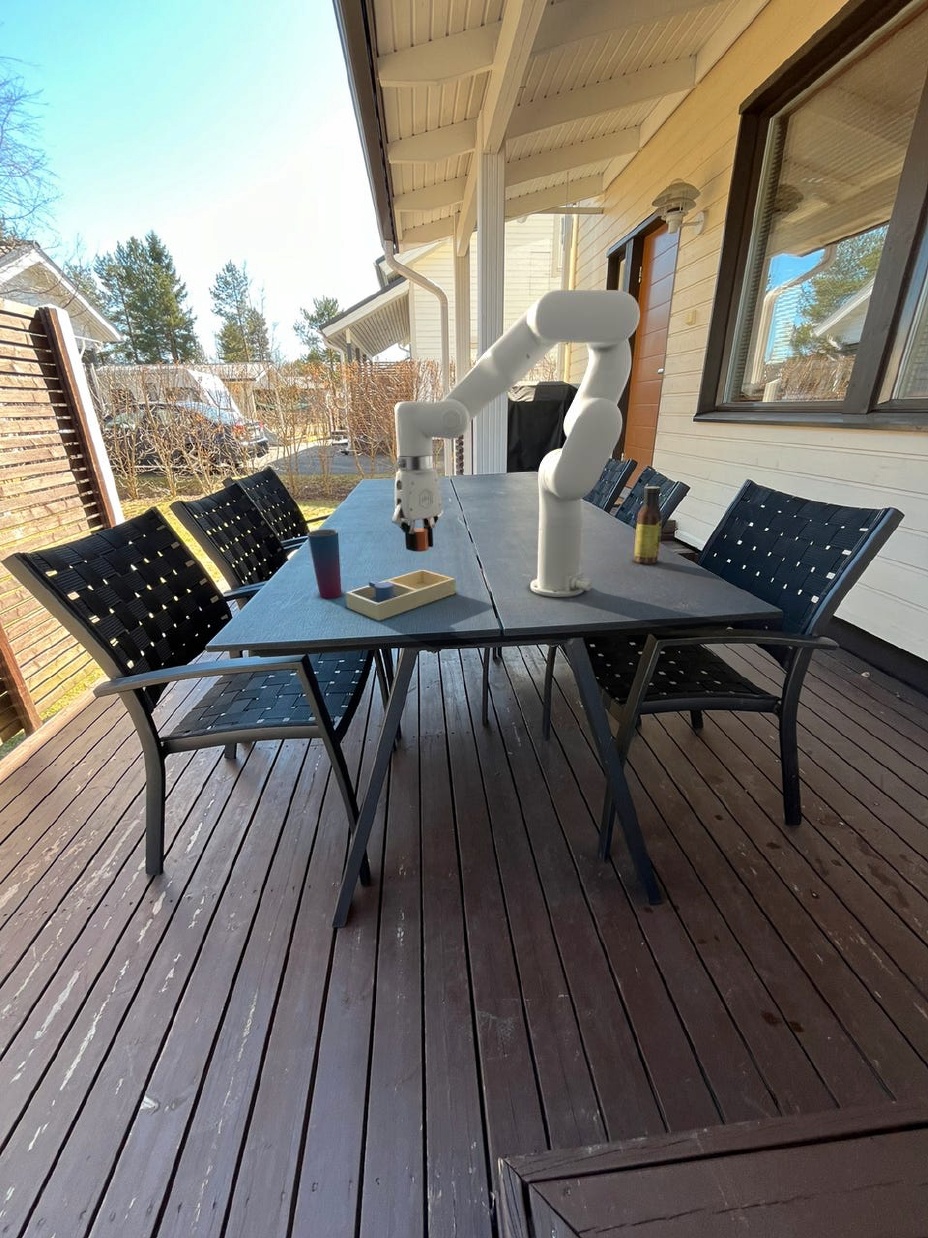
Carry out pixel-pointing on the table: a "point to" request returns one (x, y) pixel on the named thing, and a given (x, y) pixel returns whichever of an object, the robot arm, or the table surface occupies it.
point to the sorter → (402, 594)
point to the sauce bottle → (648, 528)
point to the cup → (326, 561)
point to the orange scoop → (422, 539)
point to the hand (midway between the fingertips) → (419, 547)
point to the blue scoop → (382, 590)
